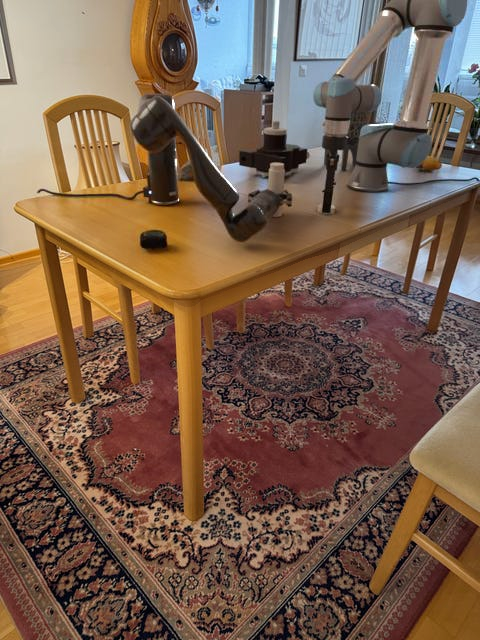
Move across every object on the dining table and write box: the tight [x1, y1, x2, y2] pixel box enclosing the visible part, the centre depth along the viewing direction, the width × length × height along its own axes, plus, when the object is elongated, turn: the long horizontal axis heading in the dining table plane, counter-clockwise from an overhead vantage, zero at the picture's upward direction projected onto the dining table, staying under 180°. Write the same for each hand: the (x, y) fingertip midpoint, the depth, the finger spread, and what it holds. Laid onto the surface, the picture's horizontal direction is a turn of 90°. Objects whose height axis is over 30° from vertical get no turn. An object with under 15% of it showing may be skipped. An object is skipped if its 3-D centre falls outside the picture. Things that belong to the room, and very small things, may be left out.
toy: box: [415, 156, 443, 172], centre depth 207 cm, size 11×6×15 cm
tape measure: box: [139, 229, 168, 250], centre depth 117 cm, size 7×7×4 cm
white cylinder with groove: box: [317, 203, 336, 215], centre depth 149 cm, size 6×6×2 cm
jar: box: [267, 163, 285, 218], centre depth 141 cm, size 5×5×16 cm
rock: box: [177, 159, 194, 182], centre depth 183 cm, size 13×9×6 cm, turn 131°
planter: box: [323, 111, 373, 172], centre depth 204 cm, size 20×20×26 cm
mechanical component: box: [238, 120, 311, 178], centre depth 191 cm, size 22×21×30 cm
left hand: (277, 192), depth 144 cm, fingers closed on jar, 5 cm apart
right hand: (326, 208), depth 149 cm, fingers open, 8 cm apart
